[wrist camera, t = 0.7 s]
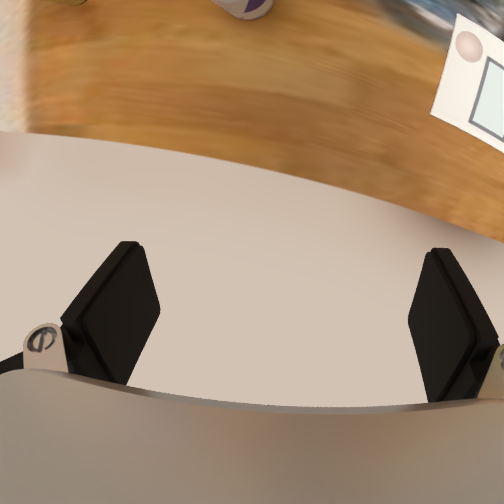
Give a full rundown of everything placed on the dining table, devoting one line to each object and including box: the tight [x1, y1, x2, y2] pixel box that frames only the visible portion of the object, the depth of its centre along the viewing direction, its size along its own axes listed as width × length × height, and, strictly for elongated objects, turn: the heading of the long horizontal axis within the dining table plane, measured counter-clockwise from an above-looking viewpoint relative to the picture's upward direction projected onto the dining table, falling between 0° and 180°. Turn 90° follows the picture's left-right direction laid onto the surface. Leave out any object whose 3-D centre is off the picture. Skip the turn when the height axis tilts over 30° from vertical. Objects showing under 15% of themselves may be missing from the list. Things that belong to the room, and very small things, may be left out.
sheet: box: [430, 13, 504, 153], centre depth 27 cm, size 14×14×1 cm
